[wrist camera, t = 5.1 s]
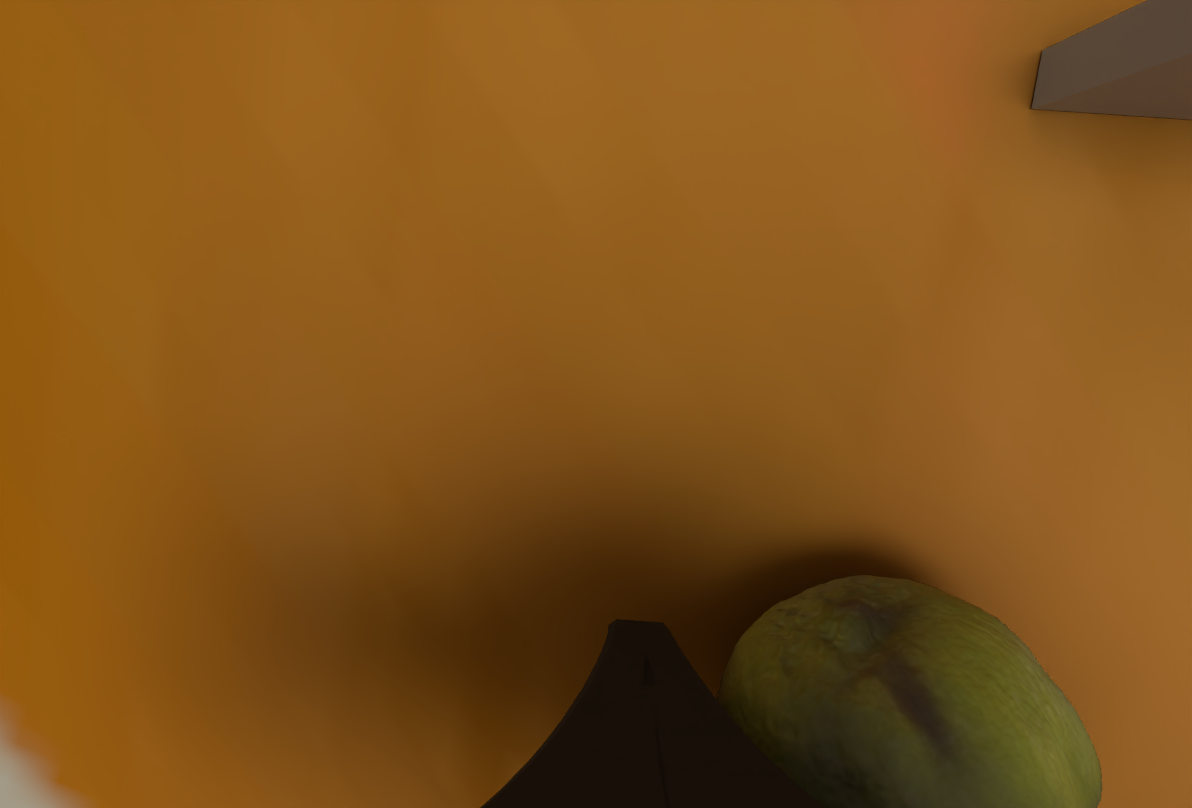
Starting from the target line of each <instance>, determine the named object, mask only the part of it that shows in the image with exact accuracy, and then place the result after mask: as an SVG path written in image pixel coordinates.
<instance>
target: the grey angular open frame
mask: <svg viewBox="0 0 1192 808" xmlns="http://www.w3.org/2000/svg"><path fill="white" fill-rule="evenodd" d="M1031 109H1039V110H1054V111H1069V112H1084V113H1099V114H1114V115H1129V116H1144V117H1159V118H1174V119H1189V120H1192V0H1147V1H1145V2H1142V3H1140V4H1138V5H1136V6H1134V7H1132V8H1130V9H1128V10H1126V11H1124V12H1121V13H1119V14H1117V15H1115V16H1113V17H1111V18H1109V19H1107V20H1105V21H1103V22H1100V23H1098V24H1096V25H1094V26H1092V27H1090V28H1088V29H1086V30H1084V31H1082V32H1080V33H1077V34H1075V35H1073V36H1071V37H1069V38H1067V39H1065V40H1063V41H1061V42H1059V43H1056V44H1054V45H1052V46H1050V47H1048V48H1046V49H1044V50H1042V56H1041V61H1040V66H1039V71H1038V77H1037V82H1036V87H1035V92H1034V98H1033V103H1032V108H1031Z"/></svg>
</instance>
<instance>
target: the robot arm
mask: <svg viewBox="0 0 1192 808" xmlns="http://www.w3.org/2000/svg"><path fill="white" fill-rule="evenodd" d="M480 808H825V807H824V806H823V805H821V804H820V803H819V802H818V801H816V800H815V799H814V798H813V797H811V796H810V795H809V794H808V793H807V792H805V791H804V790H803V789H802V788H801V787H800V786H798V785H797V784H796V783H795V782H794V781H793V780H791V779H790V778H789V777H788V776H787V775H786V774H785V773H784V772H783V771H782V770H781V769H780V768H779V767H778V766H777V765H776V764H775V763H773V762H772V761H771V760H770V759H769V758H768V757H767V756H766V755H765V754H764V753H763V752H762V751H761V750H760V749H759V748H758V747H757V746H756V745H755V744H754V743H753V742H752V741H751V740H750V739H749V738H748V737H747V736H746V734H745V733H744V732H743V731H742V730H741V729H740V727H739V726H738V725H737V724H736V723H735V722H734V721H733V719H732V718H731V717H730V716H729V715H728V713H727V712H726V711H725V710H724V708H723V707H722V706H721V705H720V704H719V702H718V701H717V700H716V698H715V697H714V696H713V694H712V693H711V692H710V690H709V689H708V688H707V686H706V685H705V684H704V682H703V681H702V680H701V678H700V677H699V676H698V674H697V673H696V671H695V670H694V668H693V667H692V666H691V664H690V663H689V661H688V660H687V658H686V657H685V655H684V654H683V652H682V650H681V649H680V647H679V646H678V644H677V643H676V641H675V639H674V638H673V636H672V634H671V633H670V631H669V629H668V628H667V627H666V626H665V625H664V623H661V622H647V621H633V620H619V619H616V620H615V621H613V622H612V623H611V624H610V625H609V627H608V634H607V638H606V641H605V644H604V647H603V649H602V651H601V654H600V656H599V658H598V660H597V663H596V664H595V666H594V668H593V670H592V672H591V674H590V676H589V677H588V679H587V681H586V683H585V685H584V687H583V688H582V690H581V692H580V693H579V695H578V696H577V698H576V699H575V701H574V702H573V704H572V705H571V707H570V708H569V710H568V711H567V713H566V714H565V716H564V717H563V719H562V720H561V722H560V723H559V724H558V726H557V727H556V728H555V730H554V731H553V732H552V734H551V735H550V736H549V737H548V739H547V740H546V741H545V742H544V744H543V745H542V746H541V747H540V748H539V749H538V751H537V752H536V753H535V754H534V755H533V756H532V758H531V759H530V760H529V761H528V762H527V763H526V764H525V765H524V766H523V767H522V768H521V769H520V770H519V771H518V772H517V773H516V774H515V775H514V776H513V777H512V779H511V780H510V781H509V782H508V783H507V784H506V785H505V786H504V787H503V788H502V789H501V790H499V791H498V792H497V793H496V794H495V795H494V796H493V797H492V798H491V799H490V800H489V801H488V802H486V803H485V804H484V805H483V806H482V807H480Z"/></svg>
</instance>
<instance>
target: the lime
mask: <svg viewBox="0 0 1192 808" xmlns="http://www.w3.org/2000/svg"><path fill="white" fill-rule="evenodd" d="M717 701H718V702H719V704H720V705H721V706H722V707H723V708H724V710H725V711H726V712H727V713H728V715H729V716H730V717H731V718H732V719H733V721H734V722H735V723H736V724H737V725H738V726H739V727H740V729H741V730H742V731H743V732H744V733H745V734H746V736H747V737H748V738H749V739H750V740H751V741H752V742H753V743H754V744H755V745H756V746H757V747H758V748H759V749H760V750H761V751H762V752H763V753H764V754H765V755H766V756H767V757H768V758H769V759H770V760H771V761H772V762H773V763H775V764H776V765H777V766H778V767H779V768H780V769H781V770H782V771H783V772H784V773H785V774H786V775H787V776H788V777H789V778H790V779H791V780H793V781H794V782H795V783H796V784H797V785H798V786H800V787H801V788H802V789H803V790H804V791H805V792H807V793H808V794H809V795H810V796H811V797H813V798H814V799H815V800H816V801H818V802H819V803H820V804H821V805H823V806H824V807H825V808H1097V806H1098V804H1099V802H1100V800H1101V792H1102V781H1101V779H1102V775H1101V768H1100V762H1099V759H1098V757H1097V754H1096V751H1095V748H1094V746H1093V744H1092V742H1091V740H1090V738H1089V735H1088V733H1087V731H1086V730H1085V727H1084V725H1083V723H1082V721H1081V719H1080V718H1079V716H1078V714H1077V713H1076V711H1075V709H1074V708H1073V706H1072V705H1071V703H1070V702H1069V700H1068V699H1067V698H1066V697H1065V695H1064V694H1063V692H1062V691H1061V689H1060V688H1059V687H1058V686H1057V685H1056V684H1055V683H1054V682H1053V681H1052V680H1051V679H1050V677H1049V675H1048V674H1047V673H1046V672H1045V671H1044V670H1043V668H1042V666H1041V665H1040V664H1039V663H1038V661H1037V659H1036V658H1035V657H1034V656H1033V654H1032V652H1031V650H1030V649H1029V648H1028V647H1027V646H1026V644H1025V643H1024V642H1023V641H1022V640H1021V639H1020V638H1019V637H1018V636H1017V635H1016V634H1015V633H1014V632H1012V631H1011V630H1010V629H1009V628H1008V627H1007V626H1006V625H1005V624H1003V623H1002V622H1001V621H1000V620H999V619H998V618H996V617H995V616H993V615H991V614H989V613H987V612H985V611H984V610H982V609H980V608H978V607H976V606H974V605H972V604H970V603H967V602H965V601H963V600H960V599H959V598H957V597H954V596H952V595H950V594H947V593H945V592H943V591H941V590H939V589H937V588H934V587H931V586H928V585H925V584H922V583H920V582H916V581H913V580H909V579H898V578H888V577H878V576H873V575H857V576H850V577H846V578H841V579H835V580H832V581H829V582H827V583H823V584H819V585H817V586H815V587H812V588H808V589H806V590H804V591H803V592H802V593H800V594H797V595H796V596H794V597H791V598H789V599H787V600H784V601H781V602H779V603H777V604H776V605H774V606H772V607H771V608H770V609H769V610H767V611H766V612H765V613H764V614H763V615H762V616H761V617H760V618H759V619H758V620H756V621H755V622H754V623H753V625H752V626H751V627H750V628H749V629H748V630H747V631H746V632H745V633H744V634H743V635H742V636H741V638H740V639H739V641H738V642H737V643H736V645H735V648H734V650H733V653H732V655H731V657H730V658H729V660H728V663H727V666H726V669H725V672H724V674H723V677H722V681H721V686H720V689H719V691H718V697H717Z"/></svg>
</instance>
